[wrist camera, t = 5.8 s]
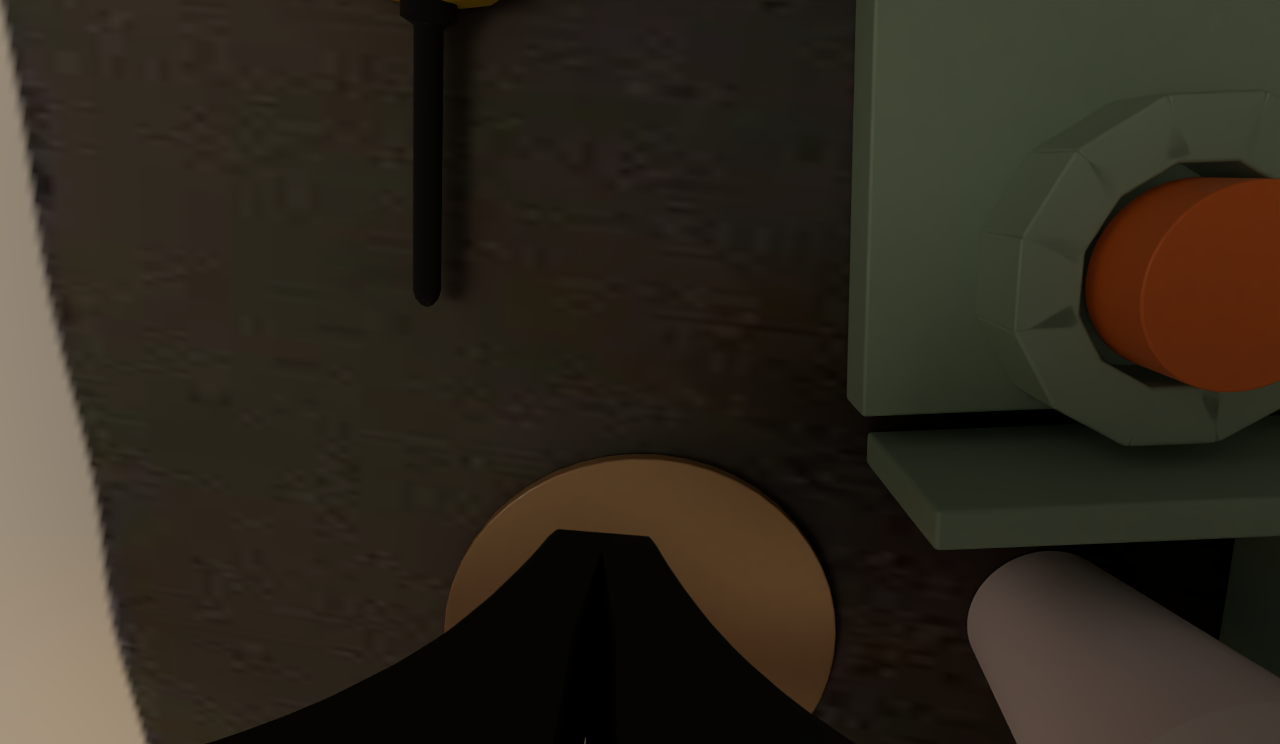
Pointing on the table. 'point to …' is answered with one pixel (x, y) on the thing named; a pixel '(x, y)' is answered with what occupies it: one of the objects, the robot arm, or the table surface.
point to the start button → (1193, 282)
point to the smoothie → (1109, 662)
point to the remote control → (429, 136)
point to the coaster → (680, 555)
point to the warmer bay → (1102, 501)
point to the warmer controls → (1038, 196)
